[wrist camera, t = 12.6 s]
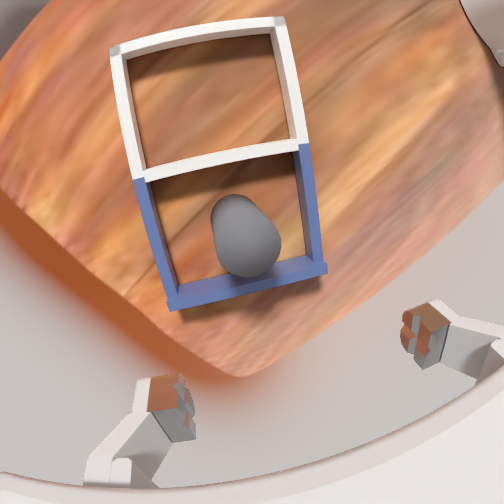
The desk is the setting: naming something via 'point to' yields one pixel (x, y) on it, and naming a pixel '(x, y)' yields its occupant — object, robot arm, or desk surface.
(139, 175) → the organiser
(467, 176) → the desk surface
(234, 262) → the smooth grey pebble
